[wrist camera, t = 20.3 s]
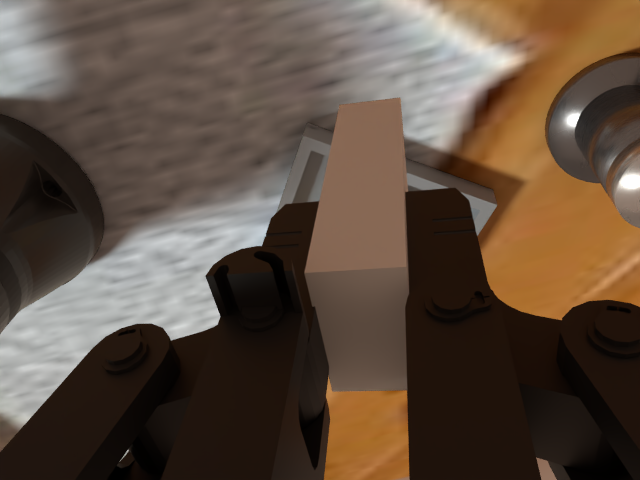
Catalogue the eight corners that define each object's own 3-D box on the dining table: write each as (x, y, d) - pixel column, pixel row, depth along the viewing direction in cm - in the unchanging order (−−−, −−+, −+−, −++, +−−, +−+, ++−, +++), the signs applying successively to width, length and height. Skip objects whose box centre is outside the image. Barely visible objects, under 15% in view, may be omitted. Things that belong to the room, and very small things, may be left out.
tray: (411, 318, 44) (411, 336, 43) (257, 268, 43) (252, 284, 41) (492, 189, 36) (497, 205, 35) (307, 122, 35) (303, 135, 33)
